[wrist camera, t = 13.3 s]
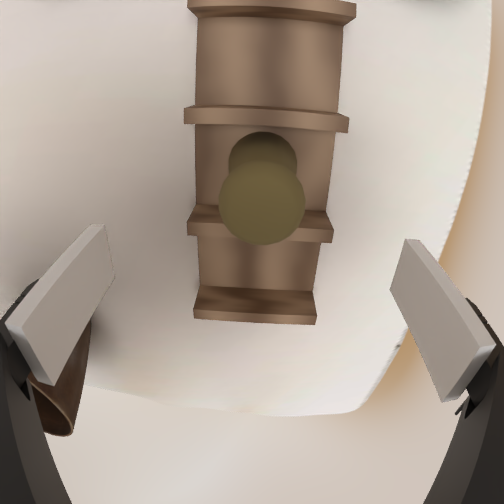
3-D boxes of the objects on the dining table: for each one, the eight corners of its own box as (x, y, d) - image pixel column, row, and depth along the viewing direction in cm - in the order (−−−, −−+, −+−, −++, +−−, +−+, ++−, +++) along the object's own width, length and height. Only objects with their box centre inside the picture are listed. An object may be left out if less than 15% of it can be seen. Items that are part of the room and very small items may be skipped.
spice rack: (202, 288, 35) (194, 318, 31) (201, 8, 21) (188, -7, 16) (309, 294, 35) (315, 324, 30) (341, 16, 20) (356, 3, 16)
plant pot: (21, 258, 34) (-48, 334, 20) (112, 284, 35) (52, 388, 22) (40, 333, 42) (-5, 407, 28) (118, 361, 43) (84, 449, 29)
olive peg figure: (233, 200, 29) (217, 265, 19) (223, 135, 26) (197, 168, 16) (300, 193, 28) (318, 256, 18) (294, 127, 25) (313, 155, 16)
